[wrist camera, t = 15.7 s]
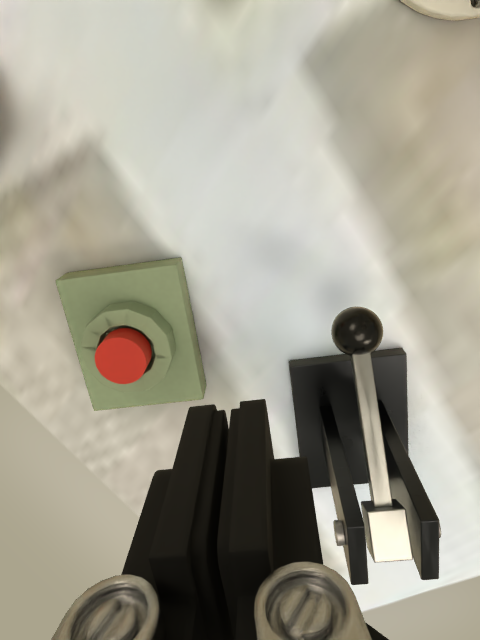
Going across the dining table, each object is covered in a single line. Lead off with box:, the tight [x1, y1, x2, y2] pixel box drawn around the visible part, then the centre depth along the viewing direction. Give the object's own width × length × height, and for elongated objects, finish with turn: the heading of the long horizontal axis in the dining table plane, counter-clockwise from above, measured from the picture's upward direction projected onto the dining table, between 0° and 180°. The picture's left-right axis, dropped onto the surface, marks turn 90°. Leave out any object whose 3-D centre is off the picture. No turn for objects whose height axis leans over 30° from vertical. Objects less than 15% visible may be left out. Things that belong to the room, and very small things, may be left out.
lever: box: [331, 307, 413, 562], centre depth 28 cm, size 15×3×3 cm, turn 8°
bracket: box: [289, 348, 441, 585], centre depth 32 cm, size 12×9×14 cm
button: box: [95, 328, 152, 384], centre depth 32 cm, size 4×4×2 cm
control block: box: [56, 257, 206, 411], centre depth 35 cm, size 11×9×4 cm
